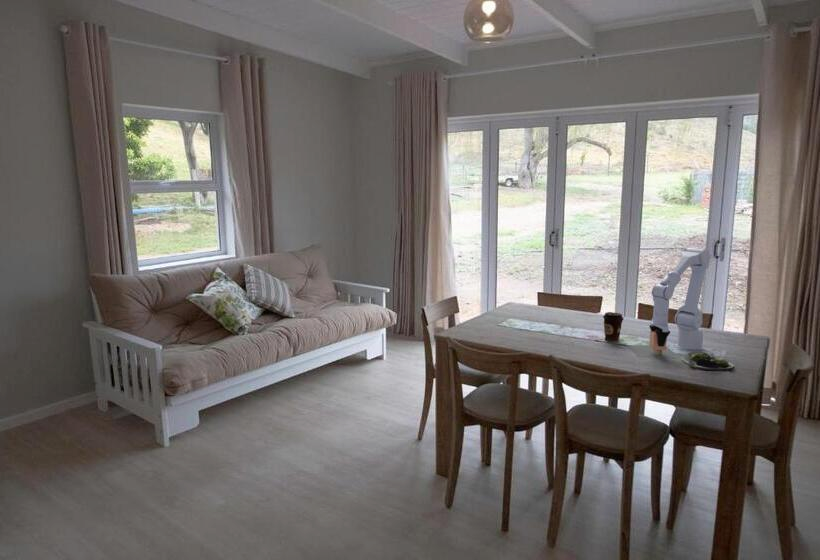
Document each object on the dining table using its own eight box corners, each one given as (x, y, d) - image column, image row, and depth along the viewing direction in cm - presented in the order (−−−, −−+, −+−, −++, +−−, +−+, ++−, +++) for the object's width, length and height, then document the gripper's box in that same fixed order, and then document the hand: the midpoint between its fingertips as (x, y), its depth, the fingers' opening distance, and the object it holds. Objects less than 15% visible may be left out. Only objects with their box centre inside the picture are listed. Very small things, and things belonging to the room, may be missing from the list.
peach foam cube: (661, 346, 236) (662, 331, 235) (665, 350, 231) (666, 334, 230) (649, 346, 236) (650, 331, 235) (652, 349, 231) (653, 334, 230)
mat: (665, 346, 246) (665, 345, 246) (680, 358, 229) (680, 357, 229) (626, 345, 247) (626, 344, 247) (637, 357, 231) (637, 356, 231)
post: (659, 353, 235) (660, 341, 234) (661, 355, 233) (662, 343, 232) (653, 353, 235) (654, 341, 235) (655, 354, 233) (656, 343, 232)
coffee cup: (608, 344, 250) (610, 316, 248) (598, 339, 258) (599, 312, 256) (625, 342, 252) (627, 314, 250) (614, 337, 260) (615, 310, 258)
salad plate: (669, 357, 232) (670, 346, 231) (710, 356, 233) (711, 346, 232) (695, 373, 213) (696, 361, 212) (740, 372, 214) (741, 360, 213)
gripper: (645, 308, 238) (643, 339, 241) (656, 316, 224) (654, 349, 227) (662, 309, 238) (660, 339, 240) (674, 317, 223) (672, 349, 226)
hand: (658, 344), depth 233 cm, fingers closed on peach foam cube, 5 cm apart
